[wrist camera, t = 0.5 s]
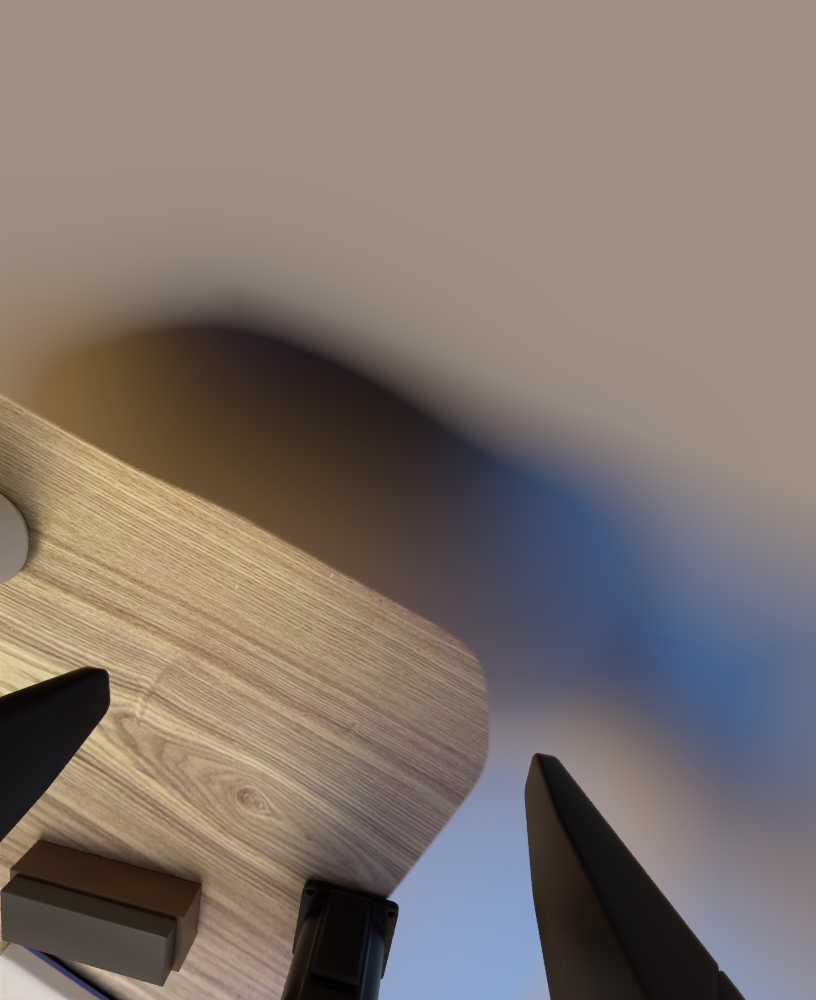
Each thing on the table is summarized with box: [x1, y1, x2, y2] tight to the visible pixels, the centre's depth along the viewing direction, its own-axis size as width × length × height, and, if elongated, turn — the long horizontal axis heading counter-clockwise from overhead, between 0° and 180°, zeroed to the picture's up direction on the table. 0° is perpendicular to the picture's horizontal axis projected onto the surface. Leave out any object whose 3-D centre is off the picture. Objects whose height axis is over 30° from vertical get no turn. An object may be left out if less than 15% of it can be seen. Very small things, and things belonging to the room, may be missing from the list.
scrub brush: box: [1, 840, 201, 986], centre depth 28 cm, size 5×12×3 cm, turn 79°
